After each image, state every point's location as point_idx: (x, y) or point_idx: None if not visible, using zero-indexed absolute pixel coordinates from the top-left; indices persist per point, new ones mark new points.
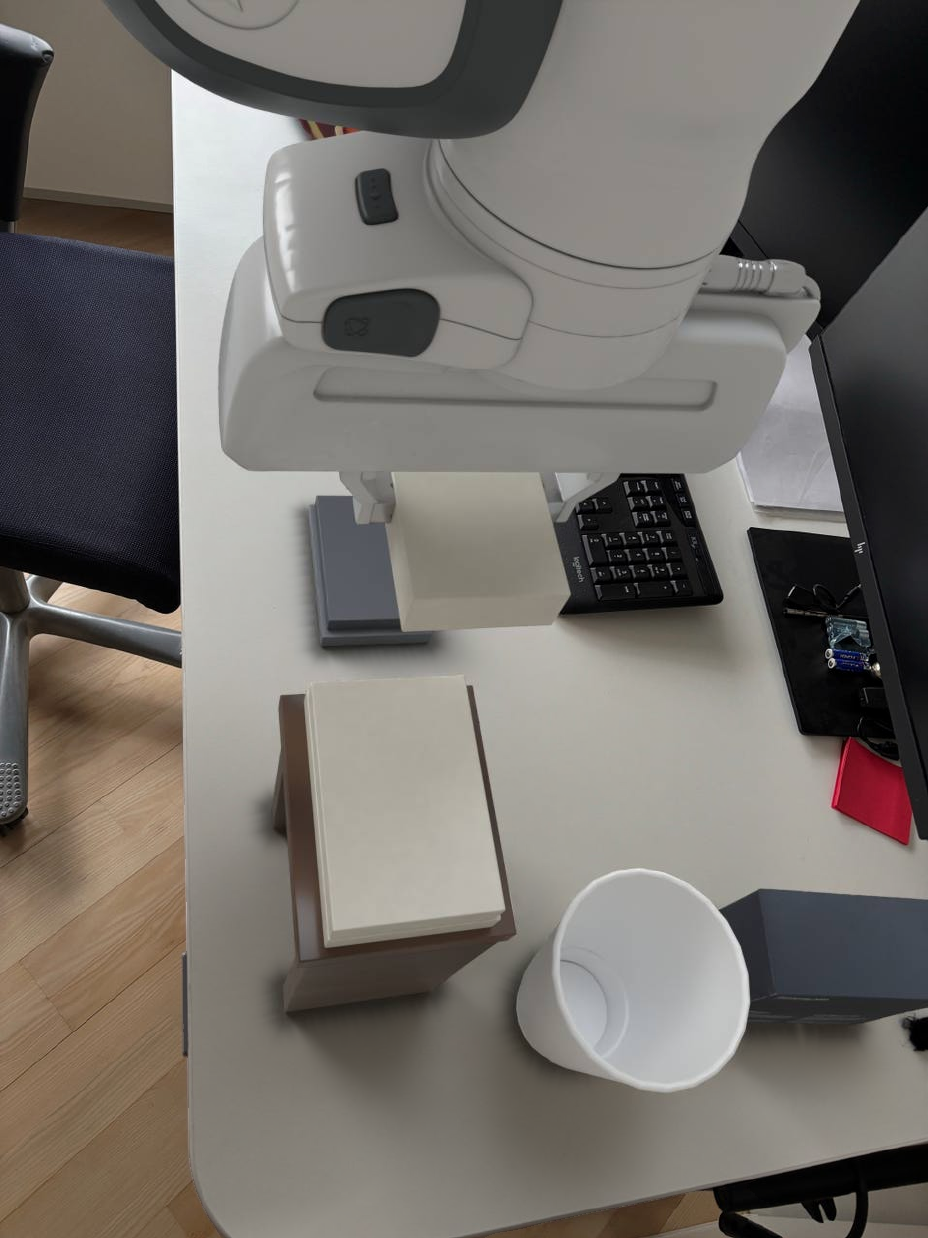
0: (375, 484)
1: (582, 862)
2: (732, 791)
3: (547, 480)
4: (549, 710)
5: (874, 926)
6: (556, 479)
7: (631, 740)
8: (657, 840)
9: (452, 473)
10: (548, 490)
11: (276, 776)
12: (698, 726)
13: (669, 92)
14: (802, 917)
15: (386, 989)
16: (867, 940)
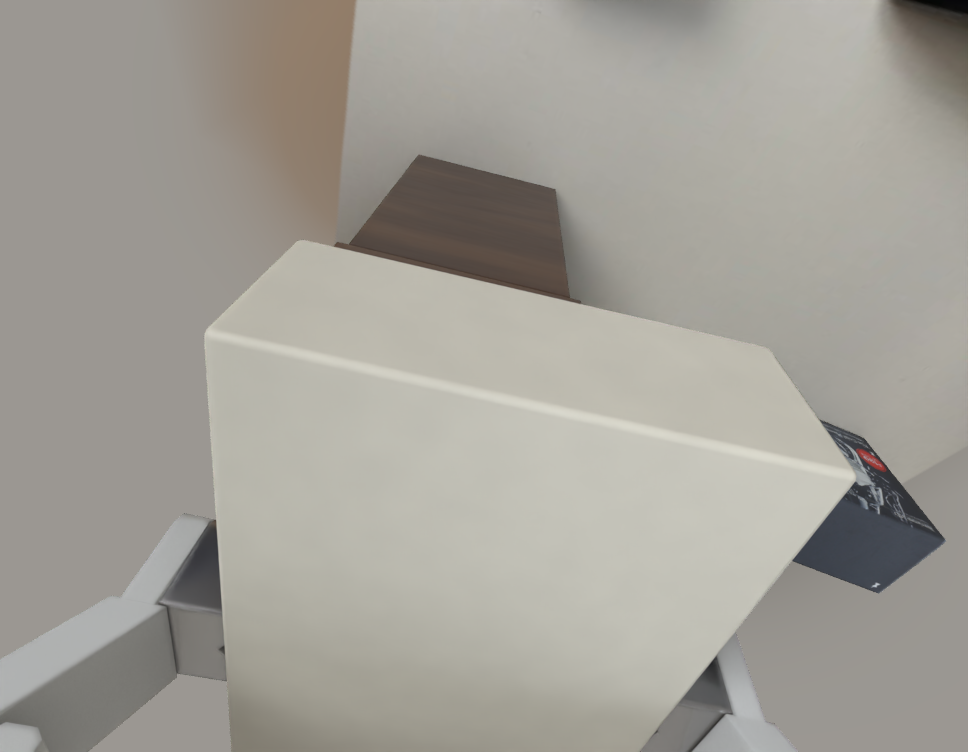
0: (174, 641)
1: (691, 309)
2: (897, 302)
3: (676, 726)
4: (772, 143)
5: (870, 537)
6: (703, 732)
7: (838, 213)
8: (778, 317)
9: (403, 669)
10: (657, 744)
11: (399, 179)
12: (931, 224)
13: None
14: None
15: None
16: (852, 542)
